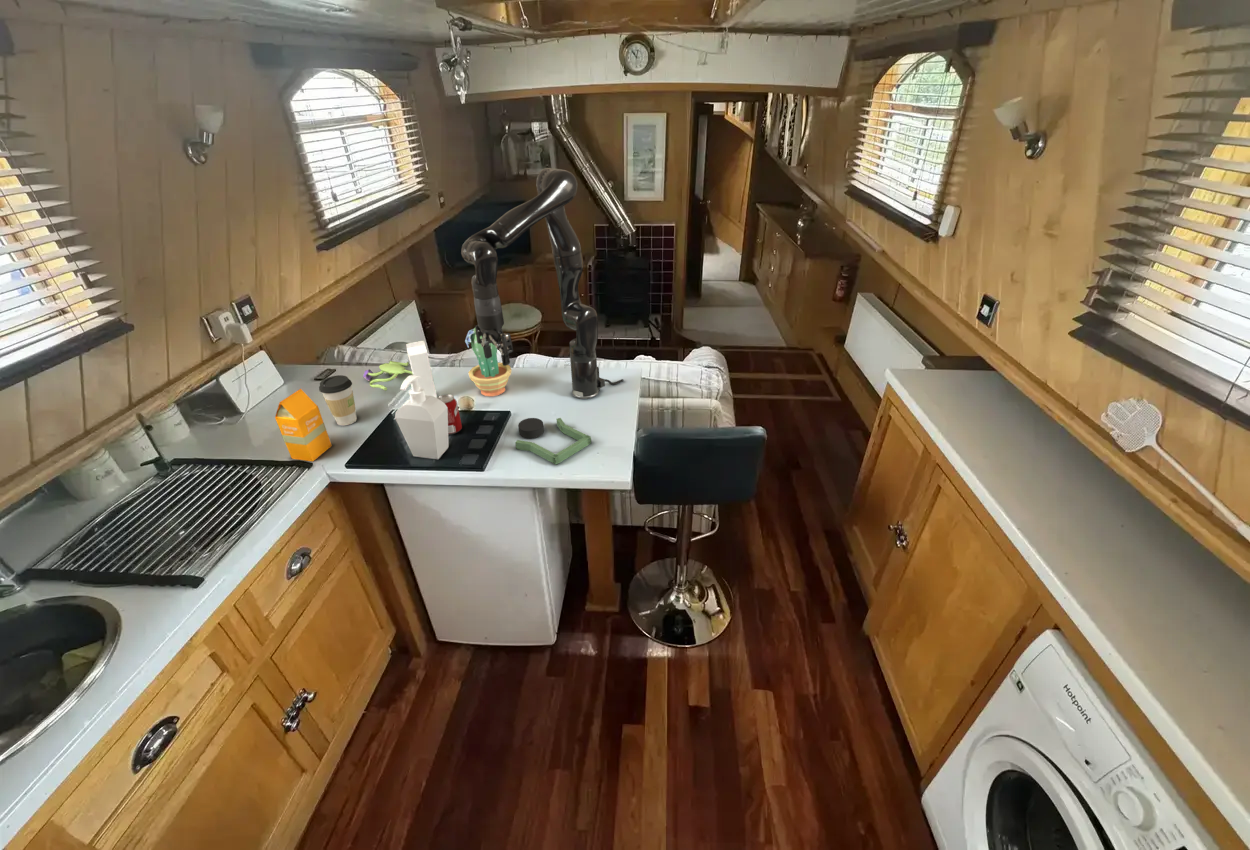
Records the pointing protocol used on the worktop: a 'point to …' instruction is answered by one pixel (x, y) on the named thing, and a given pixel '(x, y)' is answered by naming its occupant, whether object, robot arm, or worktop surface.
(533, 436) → the puck
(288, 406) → the orange juice
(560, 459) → the frame
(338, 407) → the coffee cup
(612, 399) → the worktop surface
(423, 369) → the milk
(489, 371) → the potted cactus
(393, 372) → the figurine
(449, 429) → the soda can
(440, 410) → the soap bottle
